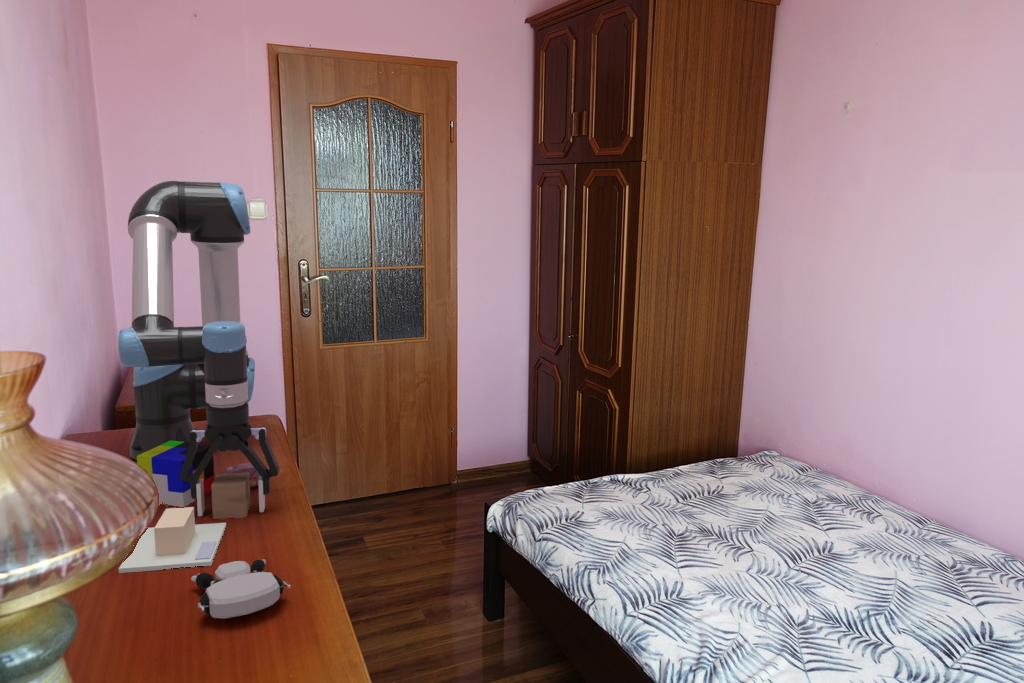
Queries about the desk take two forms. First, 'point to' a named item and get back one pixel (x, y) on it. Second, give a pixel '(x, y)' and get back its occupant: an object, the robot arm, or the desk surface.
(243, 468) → the video game controller
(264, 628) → the desk surface
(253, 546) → the desk surface
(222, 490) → the walnut block
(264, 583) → the robot toy
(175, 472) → the puzzle toy
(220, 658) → the desk surface
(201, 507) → the robot arm
